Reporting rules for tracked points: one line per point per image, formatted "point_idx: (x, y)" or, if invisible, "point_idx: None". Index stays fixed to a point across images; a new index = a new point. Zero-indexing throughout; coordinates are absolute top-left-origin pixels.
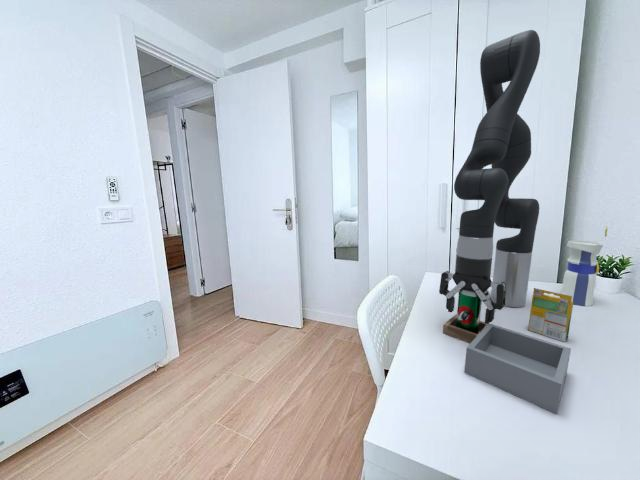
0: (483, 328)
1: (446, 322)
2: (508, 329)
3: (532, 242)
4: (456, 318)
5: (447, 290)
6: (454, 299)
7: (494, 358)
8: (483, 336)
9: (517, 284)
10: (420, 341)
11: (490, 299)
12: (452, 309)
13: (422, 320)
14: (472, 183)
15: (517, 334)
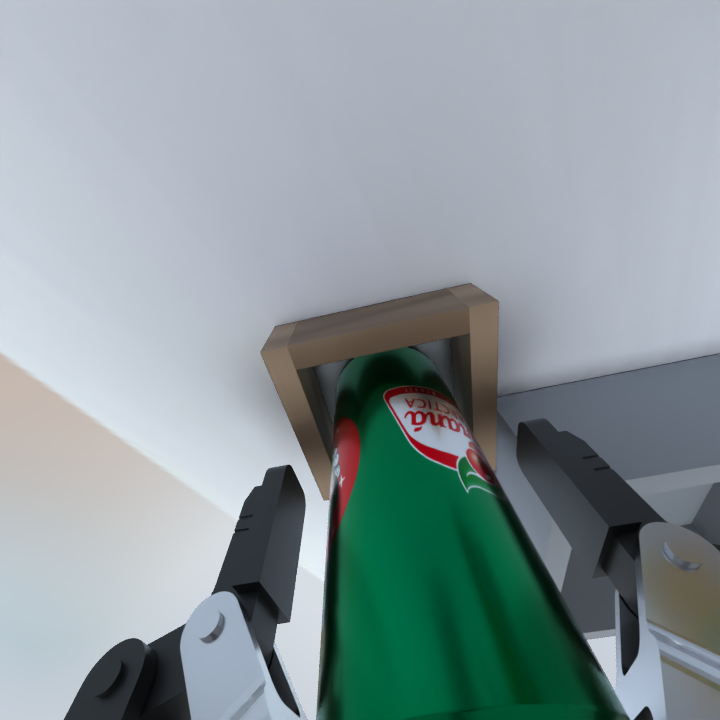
0: (475, 391)
1: (317, 479)
2: (671, 472)
3: None
4: (309, 406)
5: (172, 713)
6: (268, 561)
7: (615, 635)
8: (561, 586)
9: None
10: (324, 540)
11: (717, 653)
12: (294, 493)
13: (189, 446)
14: None
15: (715, 478)
